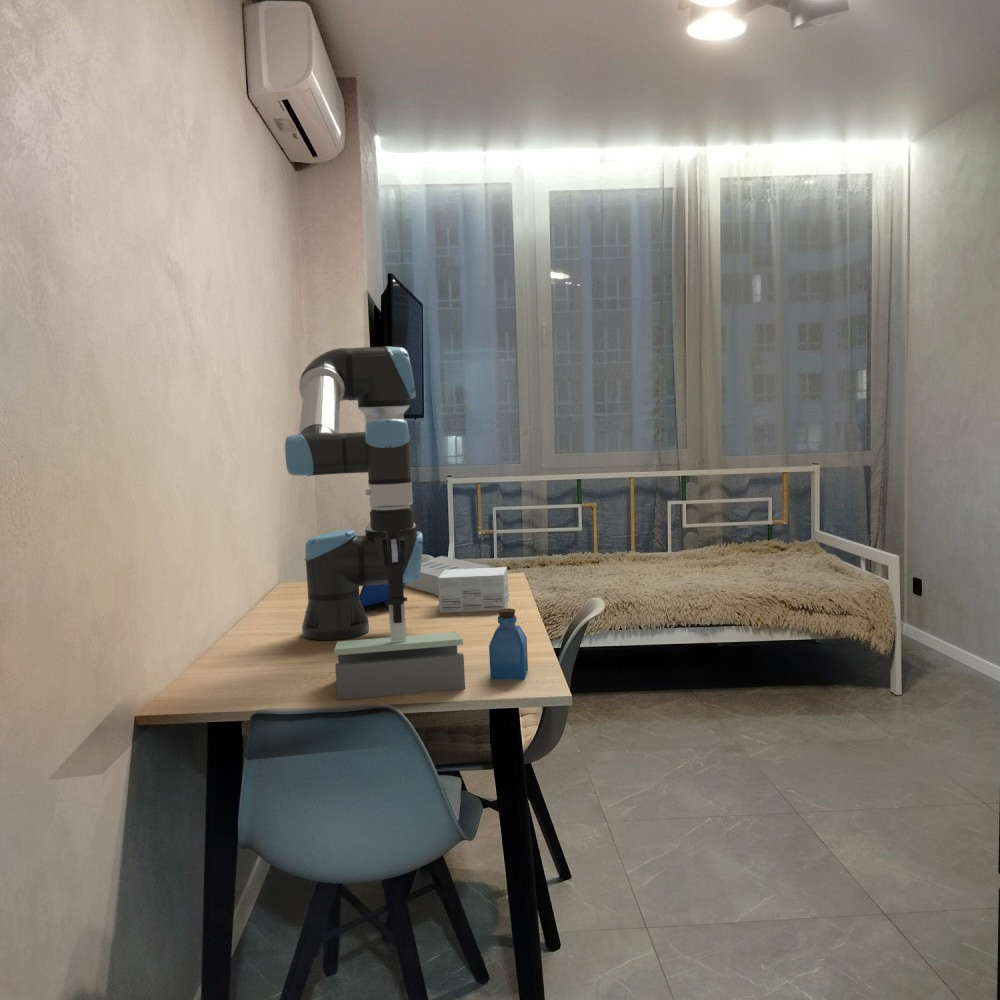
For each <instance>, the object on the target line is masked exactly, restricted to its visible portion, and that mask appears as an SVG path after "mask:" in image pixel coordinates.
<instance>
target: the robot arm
mask: <svg viewBox="0 0 1000 1000" xmlns="http://www.w3.org/2000/svg"><path fill="white" fill-rule="evenodd" d="M410 359H411V358H410V355H409V352H408V350H406V348H404V347H400V346H387V345H386V346H371V347H370V346H369V347H367V346H365V347H347V348H346V347H340V348H335V349H331V350H328V351H326V352H324V353H322V354H319V356H317V357H316V358H314V359H313V360H312V361H311V362H310V363H309V364H308V365H307V366H306V367H305V369H304V370H303V372H302V373H301V376H300V380H299V386H298V387H299V388H298V389H299V394H300V397H301V398H302V402H301V403H302V404H301V412H300V420H299V421H300V422H299V430H298V433H297V434H294V435H289V436H286V438H285V441H284V442H285V443H284V456H285V466H286V470H287V472H288V474H290V475H291V476H303V477H304V476H306V477H312V476H322V475H340V474H361V473H363V474H365V473H367V474H368V475H367V476H368V477H367V478H368V479H367V480H368V482H367V484H368V488H369V489H366V490H365V495H366V496H369V506H370V511H369V522H368V523H367V525H365V526H364V529H365V533H364V534H363V535H362V534H361V535H357V532H356V530H355V529H351V528H349V529H341V530H336V531H332V532H331V531H330V532H326V533H322V534H319V535H318V534H317V535H315V536H312V537H310V538H308V539H307V541H306V543H305V547H304V548H305V553H304V554H305V555H304V556H305V557H304V562H305V567H306V585H307V586H306V587H307V606H306V610H305V612H304V613H305V614H304V618H303V621H302V625H301V626H302V627H301V634H302V637H303V638H305V639H308V640H315V641H335V640H343V639H349V638H355V637H359V636H362V635H365V634H367V633H368V632H369V631H370V625H369V623H370V622H369V618H368V616H367V612H365V611H364V608H363V605H362V603H361V600H360V597H359V595H360V587H363V586H368V585H382V584H388V591H389V592H388V596H389V598H388V600H389V601H385V604H386V605H389V607H388V613H389V618H388V619H389V631H390V632H389V633H390V637H391V641H400V640H406V636H407V626H406V612H405V602H408V597H407V596H406V597H405V595H404V589H403V583H407V582H414V581H416V580H417V579H418V577H419V575H420V570H421V562H422V560H423V541H424V537H423V536H424V534H423V532H422V531H419V530H417V527H416V526H417V524H416V523H415V522H414V509H412V507H411V506H410V505H413V503H414V502H413V501H414V499H413V496H414V495H413V482H412V477H411V473H412V472H411V452H410V451H411V450H410V449H411V448H410V440H411V435H410V433H409V425H408V422H407V420H406V419H404V418H405V417H404V416H405V415H404V414H405V413H406V412H407V411H408V410H409V408H410V407H411V405H410V403H411V401H410V399H411V400H413V399H415V398H416V396H417V395H416V394H417V393H416V388H415V380H414V373H413V368H412V364H411V360H410ZM343 401H357V407H358V408H357V409H358V410H359V411H360V412H361V413H363V415H364V416H365V431H358V432H356V431H355V432H340V403H341V402H343Z"/></svg>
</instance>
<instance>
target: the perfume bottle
mask: <svg viewBox="0 0 1000 1000" xmlns="http://www.w3.org/2000/svg"><path fill="white" fill-rule="evenodd" d="M497 612H498V615H499V616H497V623H498V624H499V625H498V626H497V627H496V629H495V630H494V633H493V636H492V638H491V641H490V642H489V646H488V652H489V673H490V674H489V677H490V680H491V679H492V680H525V679H526V676H527V674H528V671H529V666H528V665H529V661H528V642H527V641H528V639H527V636H526V634H525V632H524V631H523V629H522V627H521V626H520V625H516V623H517V616H516V615H515V614H516V609H515V608H507V607H506V609H500V610H498V611H497Z"/></svg>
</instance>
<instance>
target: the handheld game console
mask: <svg viewBox="0 0 1000 1000" xmlns="http://www.w3.org/2000/svg"><path fill="white" fill-rule="evenodd" d="M405 584H406V583H403V590H404V589H405V587H406V586H405ZM388 592H389V591H388V584H382V585H368V586H361V590H360V591H359V597H360V600H361V603H362V605H363V608H364V611H365V613H368V612H371V611H376V610H378V609H382V608H383V609H385V608H389V605H386V604H385V601H389V600H388V598H389V596H388Z"/></svg>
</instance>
